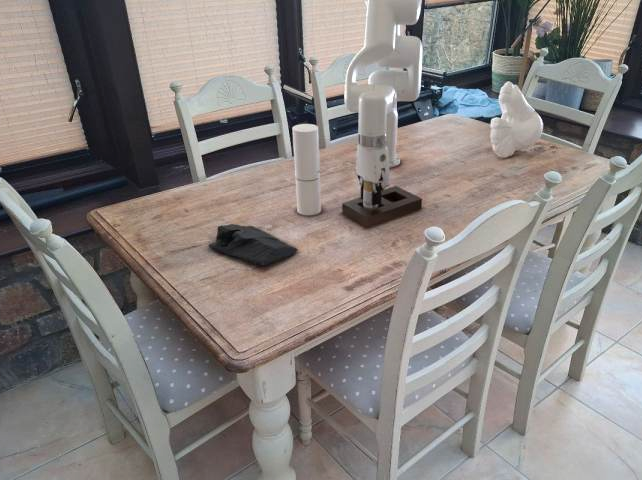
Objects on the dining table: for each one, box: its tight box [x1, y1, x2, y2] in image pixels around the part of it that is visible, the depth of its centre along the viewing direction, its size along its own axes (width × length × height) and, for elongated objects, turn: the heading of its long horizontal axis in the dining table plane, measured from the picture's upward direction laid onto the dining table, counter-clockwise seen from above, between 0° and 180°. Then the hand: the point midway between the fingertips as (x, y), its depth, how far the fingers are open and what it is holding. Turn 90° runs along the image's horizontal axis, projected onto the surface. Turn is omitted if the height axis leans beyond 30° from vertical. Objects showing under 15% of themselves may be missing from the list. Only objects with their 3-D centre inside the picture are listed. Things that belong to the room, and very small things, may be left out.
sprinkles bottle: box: [363, 175, 379, 211], centre depth 156 cm, size 5×5×13 cm
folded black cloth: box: [208, 223, 299, 266], centre depth 141 cm, size 15×22×5 cm
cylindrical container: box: [291, 123, 322, 216], centre depth 156 cm, size 7×7×25 cm
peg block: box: [341, 185, 423, 229], centre depth 161 cm, size 12×21×4 cm, turn 127°
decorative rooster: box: [489, 80, 544, 159], centre depth 198 cm, size 25×16×25 cm
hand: (370, 200), depth 157 cm, fingers closed on sprinkles bottle, 4 cm apart
